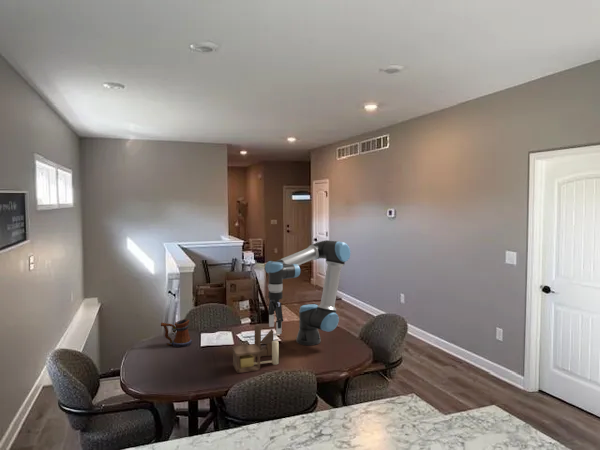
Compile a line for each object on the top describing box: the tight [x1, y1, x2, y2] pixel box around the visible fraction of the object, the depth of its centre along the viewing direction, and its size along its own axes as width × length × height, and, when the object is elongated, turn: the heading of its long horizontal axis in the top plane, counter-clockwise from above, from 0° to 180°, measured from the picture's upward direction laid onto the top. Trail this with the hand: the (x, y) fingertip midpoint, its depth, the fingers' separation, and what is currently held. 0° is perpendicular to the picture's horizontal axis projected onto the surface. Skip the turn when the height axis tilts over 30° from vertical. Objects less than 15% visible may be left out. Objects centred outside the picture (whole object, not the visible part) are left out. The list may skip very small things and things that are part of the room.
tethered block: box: [240, 340, 280, 368], centre depth 227 cm, size 22×6×12 cm, turn 110°
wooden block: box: [254, 323, 274, 358], centre depth 241 cm, size 4×11×18 cm, turn 111°
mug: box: [160, 318, 193, 348], centre depth 258 cm, size 18×12×15 cm, turn 108°
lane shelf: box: [231, 343, 261, 374], centre depth 224 cm, size 13×12×10 cm
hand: (275, 330), depth 229 cm, fingers open, 13 cm apart
